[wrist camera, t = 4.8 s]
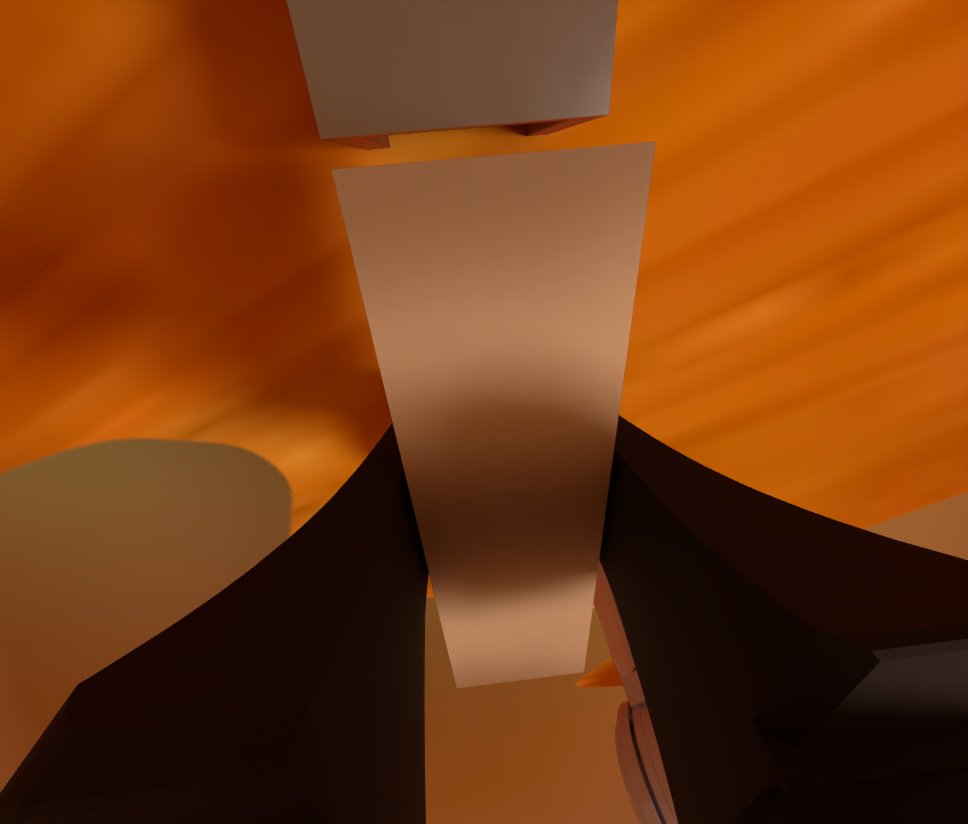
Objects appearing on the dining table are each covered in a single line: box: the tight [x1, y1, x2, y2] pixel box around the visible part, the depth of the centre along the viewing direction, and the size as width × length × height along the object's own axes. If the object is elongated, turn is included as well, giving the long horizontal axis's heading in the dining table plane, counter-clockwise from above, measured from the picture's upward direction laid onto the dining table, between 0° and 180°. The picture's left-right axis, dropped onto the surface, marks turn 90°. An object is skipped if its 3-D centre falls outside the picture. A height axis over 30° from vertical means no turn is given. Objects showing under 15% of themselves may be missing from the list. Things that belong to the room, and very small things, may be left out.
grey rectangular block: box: [286, 0, 618, 150], centre depth 11 cm, size 4×7×6 cm, turn 94°
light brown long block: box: [332, 142, 656, 688], centre depth 9 cm, size 12×4×5 cm, turn 4°
